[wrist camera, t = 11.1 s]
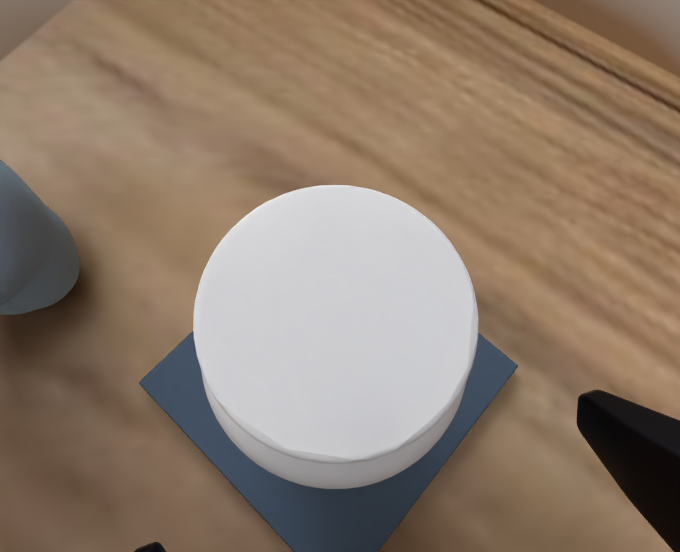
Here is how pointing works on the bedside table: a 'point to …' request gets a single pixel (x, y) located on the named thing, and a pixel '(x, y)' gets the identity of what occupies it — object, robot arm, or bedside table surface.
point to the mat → (308, 502)
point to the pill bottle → (335, 335)
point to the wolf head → (32, 249)
